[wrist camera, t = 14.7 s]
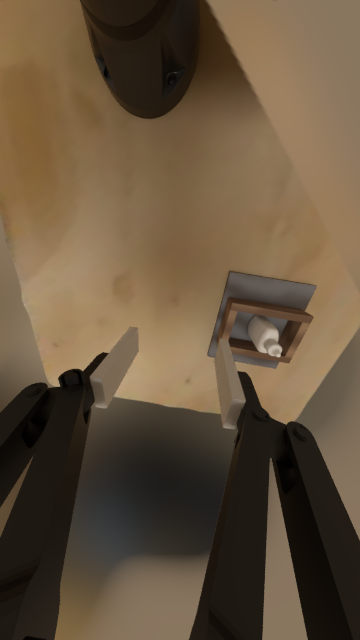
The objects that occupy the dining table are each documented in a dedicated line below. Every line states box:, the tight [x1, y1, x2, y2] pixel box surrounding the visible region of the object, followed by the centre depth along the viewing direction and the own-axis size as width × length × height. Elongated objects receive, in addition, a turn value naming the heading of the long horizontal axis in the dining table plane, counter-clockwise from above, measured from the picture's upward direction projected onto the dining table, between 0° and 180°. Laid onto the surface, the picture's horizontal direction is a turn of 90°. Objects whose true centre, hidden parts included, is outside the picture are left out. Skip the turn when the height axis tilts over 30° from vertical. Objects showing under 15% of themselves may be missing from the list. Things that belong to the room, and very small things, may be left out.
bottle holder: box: [208, 271, 317, 369], centre depth 37 cm, size 22×18×6 cm
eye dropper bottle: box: [248, 315, 282, 357], centre depth 33 cm, size 4×6×12 cm
